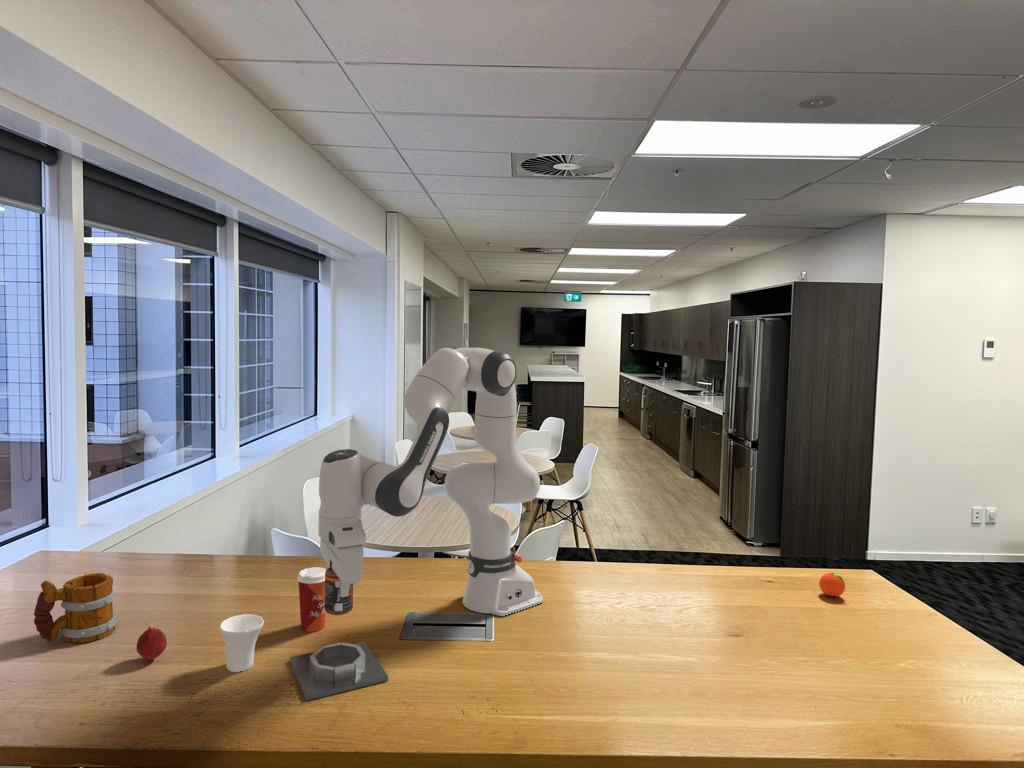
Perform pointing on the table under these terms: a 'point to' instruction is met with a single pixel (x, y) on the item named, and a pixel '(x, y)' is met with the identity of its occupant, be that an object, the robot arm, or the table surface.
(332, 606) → the supplement bottle
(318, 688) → the ring collar
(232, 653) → the cup
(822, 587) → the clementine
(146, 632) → the onion
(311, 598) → the paper cup
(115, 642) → the table surface
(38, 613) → the mug
